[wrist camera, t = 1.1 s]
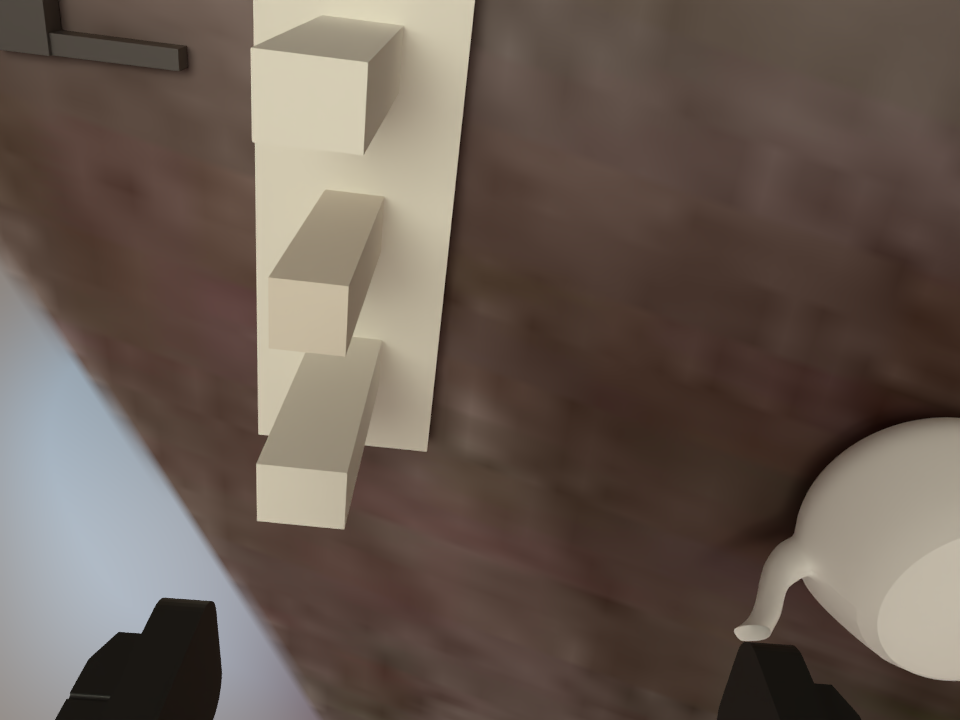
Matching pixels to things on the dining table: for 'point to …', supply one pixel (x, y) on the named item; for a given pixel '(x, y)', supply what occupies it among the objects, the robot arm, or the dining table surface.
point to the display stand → (350, 234)
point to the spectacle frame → (77, 39)
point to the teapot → (880, 548)
